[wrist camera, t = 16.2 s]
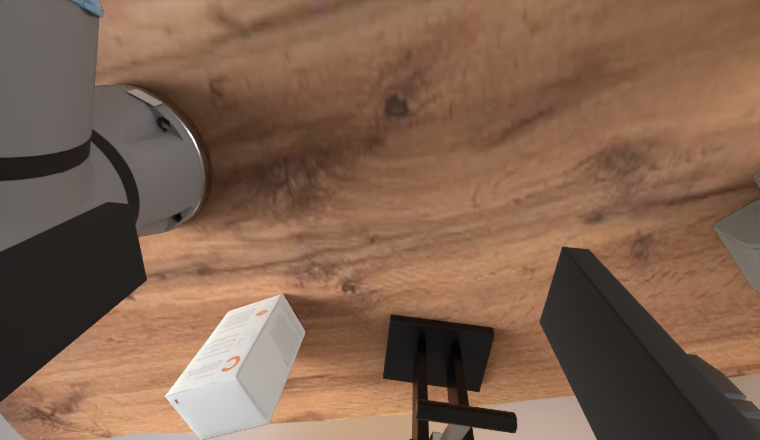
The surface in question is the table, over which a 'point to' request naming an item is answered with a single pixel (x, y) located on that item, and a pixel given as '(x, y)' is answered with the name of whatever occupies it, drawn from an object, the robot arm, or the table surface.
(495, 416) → the latch lever
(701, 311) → the table surface
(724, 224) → the digital clock
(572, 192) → the table surface
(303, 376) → the table surface
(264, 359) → the small box
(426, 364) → the black lever stand
